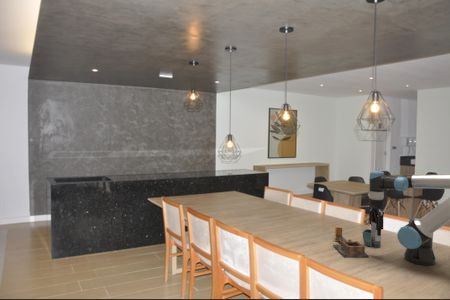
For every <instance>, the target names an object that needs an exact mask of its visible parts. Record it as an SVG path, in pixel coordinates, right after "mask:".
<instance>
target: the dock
mask: <svg viewBox="0 0 450 300" xmlns="http://www.w3.org/2000/svg"><path fill="white" fill-rule="evenodd" d="M348 244H351V246H348ZM332 247H333V248H334V249H335V250H336V251H337V252H338V253H339V254H340V255H341V257H343V258H350V259H351V258H352V259H353V258H355V259H358V258H359V259H360V258H363V259H365V258H366V259H368V258H369V257H370V255H369V254H367V253H366V251H365V250H366V246H365V245H363V244H362V243H360V242H359V241H353V240H352V239H350V238H349V239H348V240H347V241H345V240H344V239H342V241H340V244H333V245H332Z"/></svg>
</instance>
